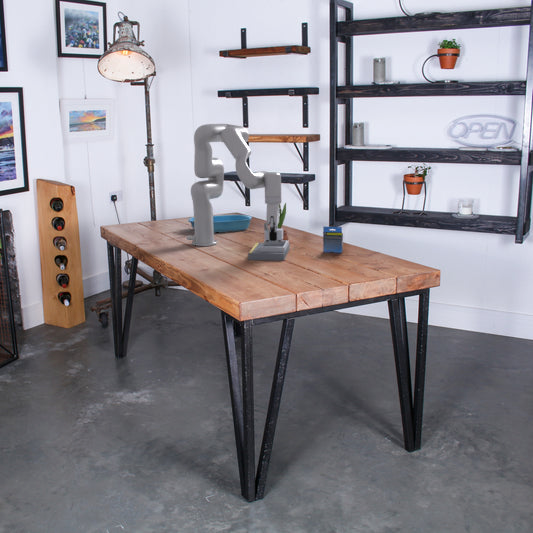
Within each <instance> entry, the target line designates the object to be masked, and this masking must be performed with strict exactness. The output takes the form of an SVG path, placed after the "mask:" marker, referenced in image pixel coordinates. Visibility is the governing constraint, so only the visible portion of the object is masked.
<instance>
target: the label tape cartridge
mask: <svg viewBox="0 0 533 533" xmlns="http://www.w3.org/2000/svg"><path fill="white" fill-rule="evenodd" d="M322 230H323V232H322V236H323V237H322V241H323V243H322V246H323V249H322V251H323V253H329V252H334V253H336V254H342V253H343V252H344V233H343V229H342V226H323V229H322ZM334 253H333V254H334Z"/></svg>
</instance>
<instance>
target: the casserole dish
mask: <svg viewBox="0 0 533 533" xmlns="http://www.w3.org/2000/svg"><path fill="white" fill-rule="evenodd" d="M252 218H253V216H252V215H247V214H246V215H245V214H222V215H213V228H214V234H215V233H216V232H219V233H231V232H230V231H232V232H241V231H242V232H243V231H247V229H248V228H249V226H250V224H251V220H252ZM187 221H188V222H189V223H190V225H191V228H192V229H194V216H193V217H190V218H189V219H187ZM194 230H195V229H194ZM216 234H217V233H216Z"/></svg>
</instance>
